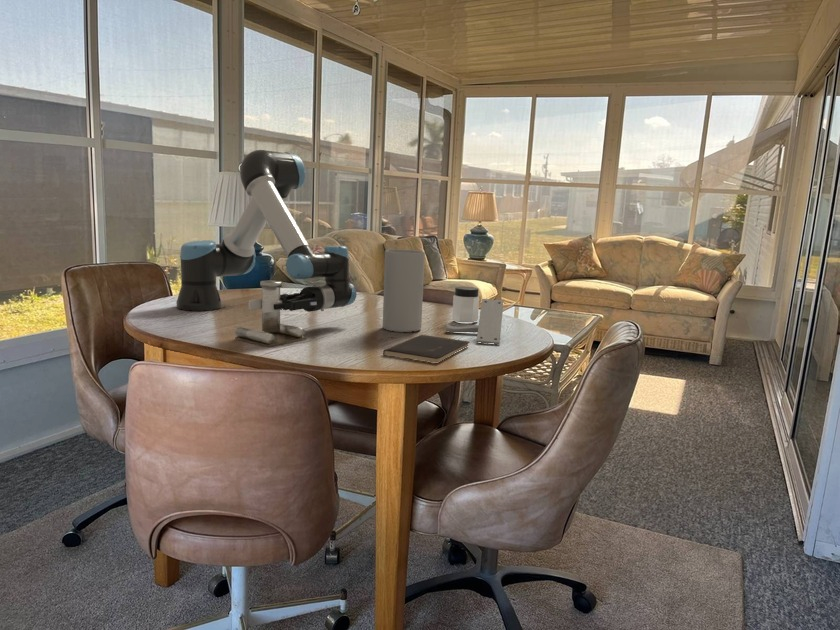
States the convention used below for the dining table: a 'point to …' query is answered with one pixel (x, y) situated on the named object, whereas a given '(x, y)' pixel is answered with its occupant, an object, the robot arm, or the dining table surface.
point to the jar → (465, 304)
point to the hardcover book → (426, 348)
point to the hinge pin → (268, 295)
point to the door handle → (485, 322)
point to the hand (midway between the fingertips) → (256, 306)
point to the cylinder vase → (403, 290)
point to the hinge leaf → (271, 336)
